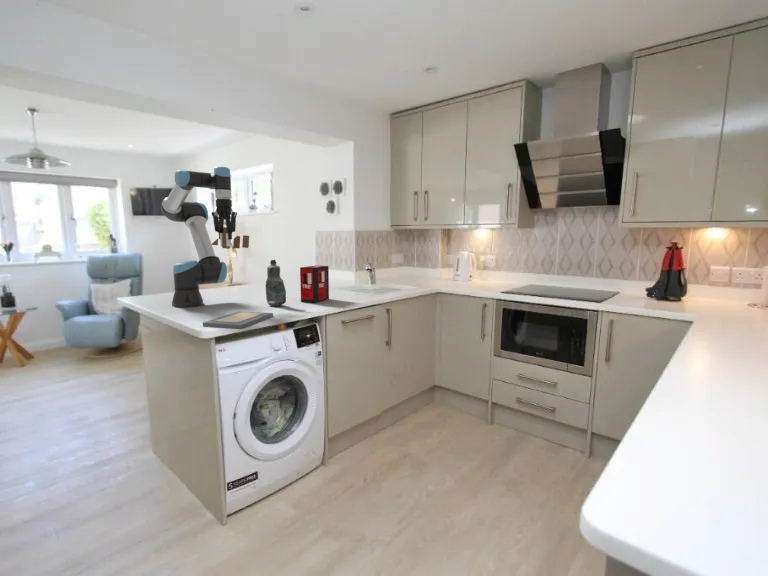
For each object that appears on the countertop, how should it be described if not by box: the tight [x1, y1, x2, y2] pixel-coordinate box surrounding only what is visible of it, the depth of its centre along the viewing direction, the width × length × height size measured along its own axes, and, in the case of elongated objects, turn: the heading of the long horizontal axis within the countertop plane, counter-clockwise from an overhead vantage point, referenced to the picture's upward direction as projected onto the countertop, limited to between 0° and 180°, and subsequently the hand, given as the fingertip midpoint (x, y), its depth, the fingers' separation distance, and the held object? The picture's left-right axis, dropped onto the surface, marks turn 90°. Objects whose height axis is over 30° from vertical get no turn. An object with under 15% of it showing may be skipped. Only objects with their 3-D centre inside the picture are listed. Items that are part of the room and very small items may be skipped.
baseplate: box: [202, 310, 274, 330], centre depth 177 cm, size 18×26×2 cm
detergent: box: [265, 259, 287, 307], centre depth 214 cm, size 13×7×25 cm, turn 67°
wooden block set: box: [211, 226, 250, 249], centre depth 206 cm, size 18×9×10 cm, turn 112°
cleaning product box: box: [299, 265, 330, 304], centre depth 232 cm, size 16×9×20 cm, turn 159°
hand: (225, 246), depth 203 cm, fingers closed on wooden block set, 3 cm apart
